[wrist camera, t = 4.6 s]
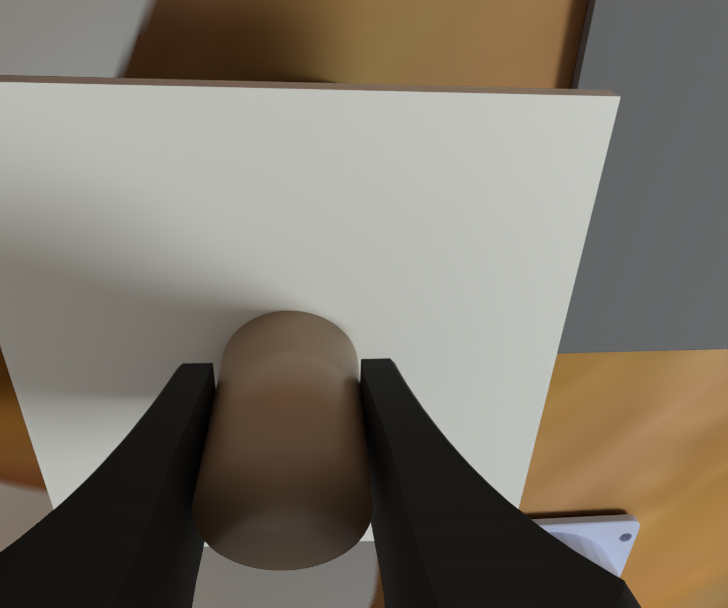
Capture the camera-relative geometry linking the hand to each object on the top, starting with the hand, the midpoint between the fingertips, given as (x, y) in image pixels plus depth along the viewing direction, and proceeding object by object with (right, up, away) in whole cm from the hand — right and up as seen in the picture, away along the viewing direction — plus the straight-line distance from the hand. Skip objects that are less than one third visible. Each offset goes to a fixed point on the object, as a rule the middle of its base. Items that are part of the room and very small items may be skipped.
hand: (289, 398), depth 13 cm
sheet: (0, +1, +1) cm, 1 cm away
